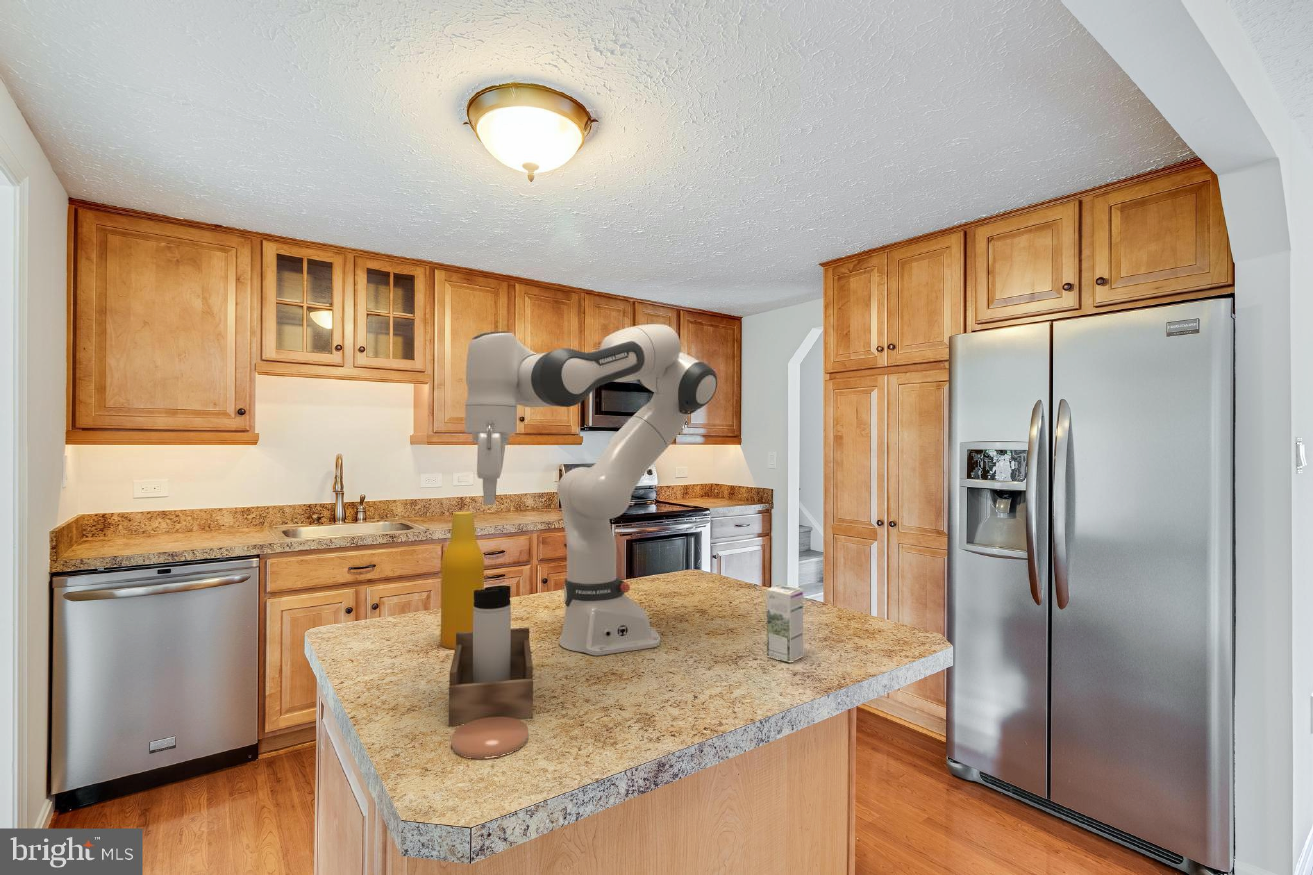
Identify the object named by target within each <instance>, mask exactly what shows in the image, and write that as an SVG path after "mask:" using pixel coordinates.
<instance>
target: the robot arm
mask: <svg viewBox="0 0 1313 875" xmlns="http://www.w3.org/2000/svg"><path fill="white" fill-rule="evenodd" d="M681 345H682V344H681V340H680V338H679V335H678V333H677V332H676V330H674V329H673V328H672V327H671V326H669V325H666V324H661V323H659V324H658V323H650V324H648V323H647V324H639V325H635V326H634V325H633V326H629V327H626V328H622V329H619V330H617V331H615V332H612V333H611V334H609V335H607V336H605V337H604V339H603V340H602V342H601V344H600V348H599V349H596V350H593V351H592V350H591V351H590V352H585V351H580V350H578V349H573V348H565V347H564V348H557V349H554V350H551V351H548V352H542V353H538V352H537V353H536V352H535V351H533V350H531V349H529V348H528V347H526V346H525V345H524V344H522V343H521V342H520V341H519V339H518V338H516V335H515V334H514V332H511V331H506V330H498V331H490V332H483V333H480V334H477V335H475V336H474V337H472V338H471V340H470V341H469V345H468V350H467V354H466V365H465V366H466V367H465V383H466V384H465V385H466V386H467V396H466V397H467V398H466V400H465V403H464V404H465V408H464V409H465V410H464V411H465V412H464V413H465V414H464V433H469V434H471V435H472V436H471V437H472V439H471V442H472V443H477V455H476V456H477V458H476V459H477V462H476V476H477V478H478V479H481V480H482V492H483V497H482V498H483V500H482V501H483V505H484V506H493V505H495V503H496V502H495V501H496V499H497V484H498V479H500V478H501V475H502V471H503V466H504V459H505V458H504V457H505V451H506V444H509V443H510V437H511V436H510V435H512V434H517V433H518V406H522V407H525V408H546V407H561V408H562V407H563V408H570V407H575V406H577V405H578V404H580V403H581V402H583V401H584V400H585V399H587V397H589V395H590V394H592V392H594V390H596V389H597V388H598V387H600V386H602V385H603V386H604V385H606V384H609V383H610V382H611V383H612V382H617V383H618V382H619V383H620V382H621V383H623V382H624V383H625V382H633V381H636V382H637V383H638V384H639V385H640V386H642V387H643V388H647V389H648V390H650V391H651V392H653V393H652V394H653V395H652V397H651V399H650V401H648V402H647V403H646V404H645V405H643V406H642V407H640V409H638V411H637V412H636V413H634V414H633V415H632V416H631V417H630V418H629V419H628V420H627V421H626V422H625V423H624V424H623V426H622V427H621V428H619V430H618V431H617V432H615V434H613V436H612V437H611V438H610V439H609V441H608V443H607V446H606V448H605V450H604V451H603V452H602V455H600V458H599V459H598V460H597V461H596V463H594V464H593V465H592V466H590V467H586V466H578V467H575V468H573V469H571V470H569V471H568V472H566V473H565V474H563V475H562V476H561V478H560V479H559V482H558V484H557V490H556V491H557V495H558V496H557V497H558V498H559V502H560V506H561V515H562V521H563V526H564V533H565V538H566V539H565V541H566V578H565V580H564V585H563V586H564V589H563V590H564V591H563V593H564V595H563V599H564V600H563V601H564V605H565V610H564V611H565V612H564V619H563V624H562V630H561V634H560V638H559V639H558V640H559V641H558V644H559V645H560V646H561V647H562V648H564V649H566V650H570V651H573V652H579V653H586V654H588V655H590V656H602V655H611V654H618V653H622V652H623V653H624V652H630V651H636V650H638V651H639V650H643V649H651V648H656V647H658V646H659V645H660V644H661V636H660V634H659V633H658V631H656V629H654V628H652V627H651V624H650V619H649V616H648V614H647V612H646V610H645V609H644V608H643V607H642V606H641V605H639V604H638V603H637V602H635V601H634V600H633V599H632V598H630V597H629V596H628V595H626V593H629V592H630V590H631V585H630V584H629V583H628V582H626V581H625V580H623V579H621V578H620V577H617V542H616V539H615V537H614V534H613V531H612V528H611V522H610V520H611V519H615V518H617V517H620V516H621V515H622V514H623V515H624V513H625V512H626V511H627V509H629V506H630V503H631V501H632V494H633V492H634V490H635V489H636V488H637V485H638V484H639V482H640V480H641V479H642V478H643V476H644V474H645V473H646V472H647V471H648V469H649V468H650V467H651V466H652V465H654V463H655V462H656V460H658V459H659V458H660V456H661V455H662V454H663V453H664V452H665V451H666V450H667V449H668V447H669V446H671V444H672V443H673V442H674V440H675V439H676V438H677V437H678V435H679V434H680V432H681V431H682V429H683V428H684V426H685V424H686V422H687V420H688V415H692V414H694V413H695V412H697V411H698V410H700V409H702V408H703V407H705V406H706V405H708V404H709V403H710V401H711V400H712V399H713V397H714V396H715V394H716V391H717V388H718V375H717V373H716V371H715V370H714V368H712V367H711V366H709V365H708V364H707V363H705V362H704V361H699V360H698V359H696V358H694V357H693V356H691V355H689V354H686V353H685V352H681V347H682V346H681Z"/></svg>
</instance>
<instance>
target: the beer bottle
mask: <svg viewBox="0 0 1313 875" xmlns="http://www.w3.org/2000/svg"><path fill="white" fill-rule="evenodd" d="M475 529H476V528H475V520H474V511H455V512H453V514H452V521H451V529H450V536H449V537H450V538H449V542H448V545H447V546H446V549H445V551H444V553H443V555H442V558H441V566H440V572H441V573H440V576H441V577H440V578H441V579H440V581H441V582H440V584H441V585H440V634H439V635H440V637H439V638H440V645H441V646H442V647H444V648H446V649H449V650H455V647H456V632H469V631H473V610H474V609H473V605H474V591H475V590H482V589H485V560H484V555H483V553H482V550H481V548H480V545H479V543H478V542H477V537H476V530H475Z"/></svg>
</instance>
